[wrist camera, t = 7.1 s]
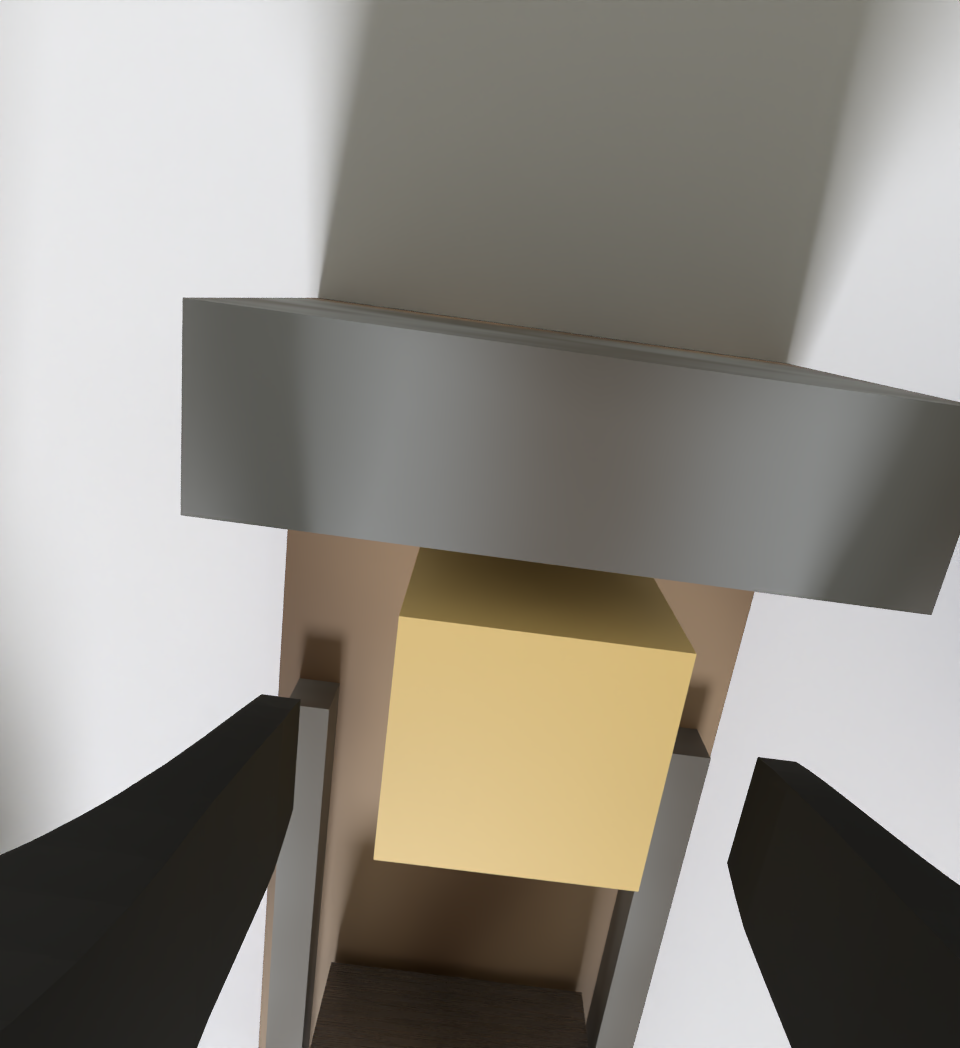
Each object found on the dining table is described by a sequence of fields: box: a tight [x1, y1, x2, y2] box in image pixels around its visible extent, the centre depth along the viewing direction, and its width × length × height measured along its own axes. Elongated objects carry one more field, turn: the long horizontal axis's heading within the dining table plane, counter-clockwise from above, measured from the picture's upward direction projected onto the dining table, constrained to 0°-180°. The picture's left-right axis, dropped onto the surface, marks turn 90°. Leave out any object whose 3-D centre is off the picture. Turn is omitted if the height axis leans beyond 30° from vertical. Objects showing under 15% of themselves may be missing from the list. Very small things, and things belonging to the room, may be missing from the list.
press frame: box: [181, 298, 960, 1048], centre depth 17 cm, size 11×24×8 cm, turn 172°
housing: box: [373, 547, 697, 892], centre depth 14 cm, size 4×4×6 cm
